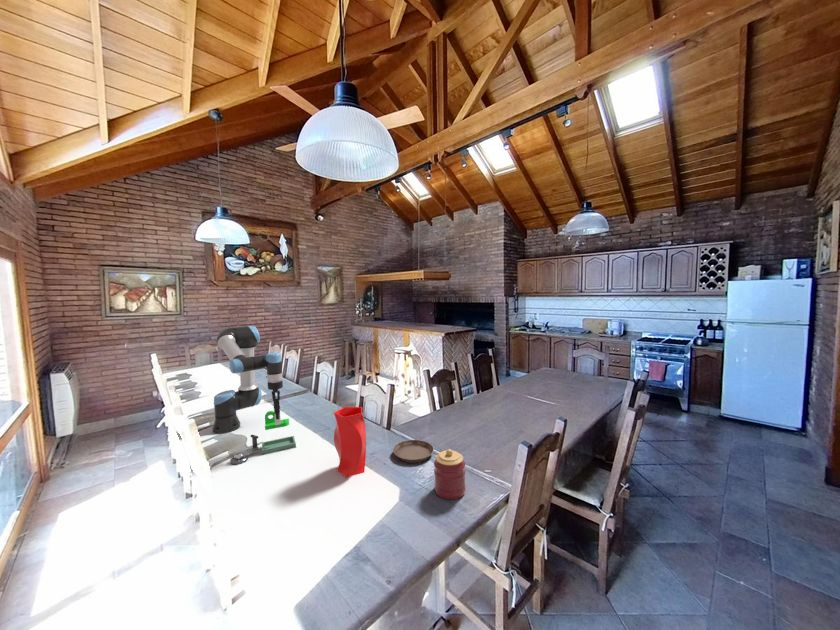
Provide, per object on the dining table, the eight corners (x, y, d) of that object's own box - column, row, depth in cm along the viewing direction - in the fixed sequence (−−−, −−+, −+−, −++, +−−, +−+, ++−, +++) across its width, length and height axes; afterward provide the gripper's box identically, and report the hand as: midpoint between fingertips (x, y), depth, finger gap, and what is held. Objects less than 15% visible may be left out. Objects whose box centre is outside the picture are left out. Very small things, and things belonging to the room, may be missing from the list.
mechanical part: (265, 430, 172) (264, 415, 172) (265, 425, 178) (264, 411, 177) (289, 425, 177) (288, 411, 176) (289, 421, 183) (288, 408, 182)
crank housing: (230, 459, 166) (230, 456, 166) (248, 455, 170) (248, 453, 170) (229, 466, 159) (229, 463, 159) (247, 462, 163) (247, 459, 163)
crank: (238, 460, 161) (237, 445, 161) (232, 458, 164) (231, 443, 163) (260, 450, 172) (259, 435, 172) (254, 448, 174) (253, 434, 174)
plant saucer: (439, 449, 171) (439, 443, 171) (423, 469, 152) (423, 462, 152) (405, 442, 179) (404, 437, 179) (385, 460, 161) (385, 454, 161)
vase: (372, 464, 157) (370, 408, 156) (357, 480, 144) (354, 419, 142) (345, 459, 162) (343, 405, 161) (328, 475, 149) (325, 415, 147)
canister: (457, 504, 126) (456, 460, 125) (428, 494, 133) (427, 452, 131) (470, 486, 137) (470, 446, 135) (443, 478, 144) (442, 439, 142)
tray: (262, 446, 179) (261, 442, 179) (293, 439, 187) (293, 435, 187) (262, 454, 170) (262, 450, 170) (296, 447, 177) (295, 443, 177)
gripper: (266, 378, 183) (269, 418, 184) (268, 386, 166) (270, 430, 167) (281, 376, 186) (283, 415, 188) (283, 384, 169) (286, 427, 171)
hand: (277, 422), depth 177 cm, fingers closed on mechanical part, 6 cm apart
